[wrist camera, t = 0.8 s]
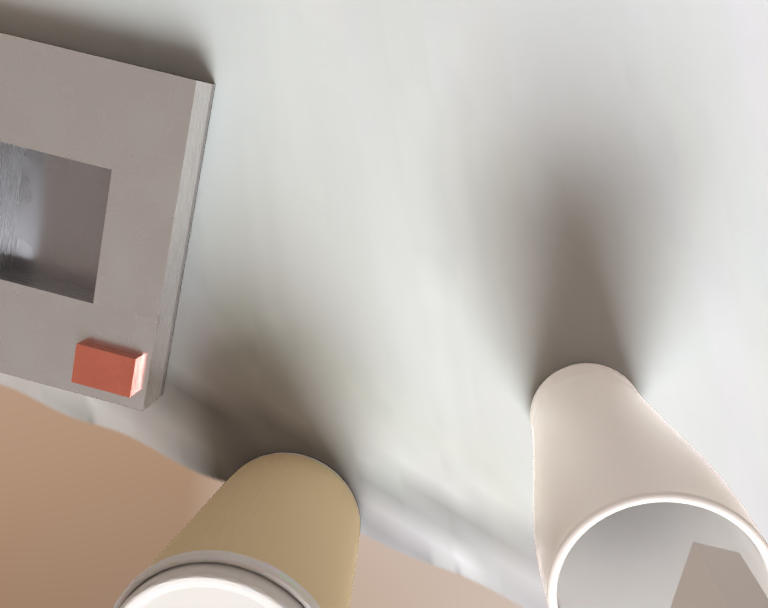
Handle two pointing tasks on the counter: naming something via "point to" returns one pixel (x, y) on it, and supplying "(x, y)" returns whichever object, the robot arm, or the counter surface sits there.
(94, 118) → the socket plate
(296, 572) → the coffee cup
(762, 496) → the counter surface
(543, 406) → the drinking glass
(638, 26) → the counter surface
